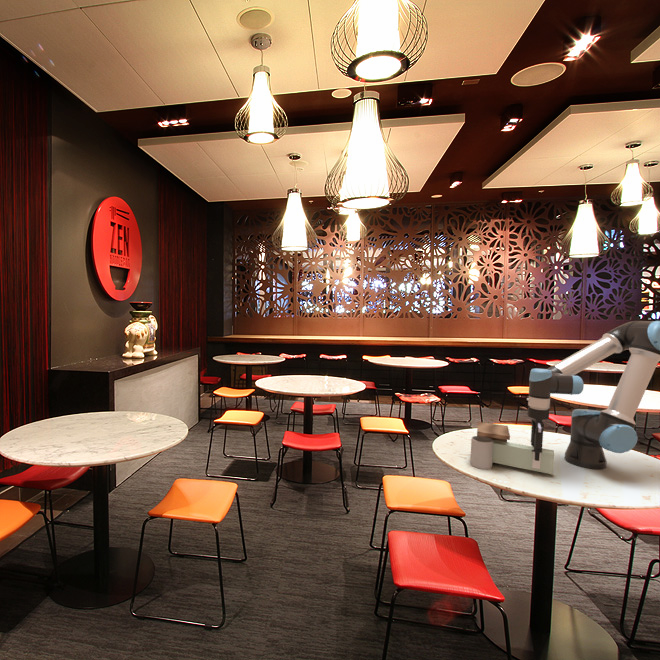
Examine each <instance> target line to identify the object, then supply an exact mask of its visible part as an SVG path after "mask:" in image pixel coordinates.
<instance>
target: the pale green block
mask: <svg viewBox="0 0 660 660" xmlns="http://www.w3.org/2000/svg"><path fill="white" fill-rule="evenodd" d="M532 450H534V447H532V446H531V445H526V444H520V443H514V442H509V441H507V442H504V441H498V440H493V458H492V464H493V463H494V464H499V465H504V466H510V467H514V468H519V469H524V470H528V471H532V472H533V471H534V472H540V473H543V474H547V475H548V474H550V475H554V465H555V451H554V449H549V448H543V447H542V453H541V461H540V469H537V468H532V459H533V452H532Z"/></svg>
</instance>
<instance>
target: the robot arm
mask: <svg viewBox="0 0 660 660" xmlns="http://www.w3.org/2000/svg"><path fill="white" fill-rule="evenodd" d="M626 350H629V353H630V356H629V359H628V361H627V363H626V365H625V367H624V370H623V372H622V375H621V377H620V379H619V382H618V383H617V386H616V388H615V390H614V392H613V395H612V398H611V399H610V402H609V404H608V407H607V408H605V409H603V410H597V409H587V408H586V409H585V408H584V409H583V408H574V409H573V410H572V413H571V421H570V422H571V424H570V425H571V426H570V437H569V438H570V439H569V441H570V442H569V443H568V445H567V447H566V449H565V453H564V460H565V461H566V462H568V463H570V464H572V465H575V466H578V467H582V468H586V469H592V470H603V469H606V468H607V459H606V454H605V452H604V450H606V451H609V452H612V453H614V454H615V453H616V454H623V453H627V452H629V451H631V450H633V449H634V448H635V447H636V445H637V442H638V438H639V437H638V435H637V431H636V430H635V427H636V424H637V423H636V421H635V420H634V417H635V415H636V413H637V410H638V408H639V406H640V404H641V401H642V399H643V397H644V395H645V392H646V390H647V387H648V385H649V383H650V382H651V379H652V377H653V375H654V372H655V370H656V367H657V365H658V363H659V362H660V320H655V321H653V320H634V321H633V320H632V321H628V322H626V323H623V324H621V325H619V326H617V327H614V328H613V329H611V330H609V331H607V332H606V333H604V334H603V335H602V337H601V338H599V339H597V340H596V341H594V342H593V343H591V344H589V345H587V346H585V347H583V348H582V349H580V350H579V351H576V352H574V353H573V354H571V355H570V356H568V357H566V358H564V359H562V360H560V361H559V362H557V363H555V364H553V365H551V366H550V367H548V368H537V367H536V368H531V370H530V373H529V379H528V380H529V384H528V385H529V386H528V397H526V401H528V402H527V404H528V407H527V414H526V415H527V416H528V418H531V422H530V423H531V432H530V433H531V434H530V446H532V447H534V450H532V452H533V459H532V468H537V469H540V461H541V453H542V448H543V441H544V430H545V429H544V428H545V424H544V422H543V420H545V421H546V420H548V419H550V408H551V395H552V394H557V395H558V394H559V395H570V396H572V395H580V394H581V393H582V392H583V391H584V384H585V383H584V381H583V378H582V377H581V376H579V375H577V374H579V373H580V372H583V371H584V370H586V369H587V368H589V367H592V366H593V365H595V364H597V363H598V362H600V361H603V360H604V359H606V358H608V357H609V356H611V355H613V354H621V353H622V352H624V351H626Z"/></svg>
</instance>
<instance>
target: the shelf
mask: <svg viewBox="0 0 660 660" xmlns="http://www.w3.org/2000/svg"><path fill="white" fill-rule="evenodd" d="M476 436H483V437H488V438H490V439H492V440H498V441H504V442H508V441H511V435H510V429H509V426H508V425H505V424H504V425H502V424H498V423H497V424H496V423H489V422H488V423H487V422H480V421H478V422H477V429H476Z"/></svg>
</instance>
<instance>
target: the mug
mask: <svg viewBox="0 0 660 660" xmlns="http://www.w3.org/2000/svg"><path fill="white" fill-rule="evenodd" d="M470 440H471V442H470V457H469V458H470V459H469V464H470V466H472V467H473V468H477V469H481V470H490V469H492V468H493V462H492V458H493V440H492V439H490V438H488V437H483V436H477V435H475V436H472V437H471V439H470Z"/></svg>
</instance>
